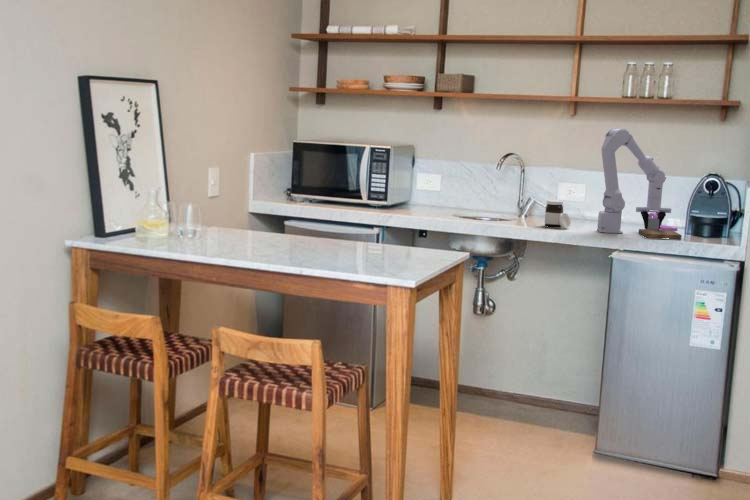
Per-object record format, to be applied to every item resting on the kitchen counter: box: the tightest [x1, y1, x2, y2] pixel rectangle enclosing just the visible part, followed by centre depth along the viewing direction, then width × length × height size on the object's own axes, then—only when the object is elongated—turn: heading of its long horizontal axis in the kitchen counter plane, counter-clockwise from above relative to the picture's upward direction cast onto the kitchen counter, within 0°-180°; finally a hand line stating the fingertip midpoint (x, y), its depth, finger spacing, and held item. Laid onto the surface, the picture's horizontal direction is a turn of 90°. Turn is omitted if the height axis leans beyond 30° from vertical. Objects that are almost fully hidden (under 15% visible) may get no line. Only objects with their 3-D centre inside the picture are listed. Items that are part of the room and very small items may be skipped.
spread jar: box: [544, 199, 572, 230], centre depth 374 cm, size 12×11×12 cm
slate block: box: [647, 217, 660, 230], centre depth 368 cm, size 4×4×6 cm
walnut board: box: [638, 228, 682, 240], centre depth 355 cm, size 14×14×2 cm
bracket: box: [648, 212, 678, 232], centre depth 379 cm, size 13×6×7 cm, turn 39°
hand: (651, 228), depth 368 cm, fingers closed on slate block, 4 cm apart
